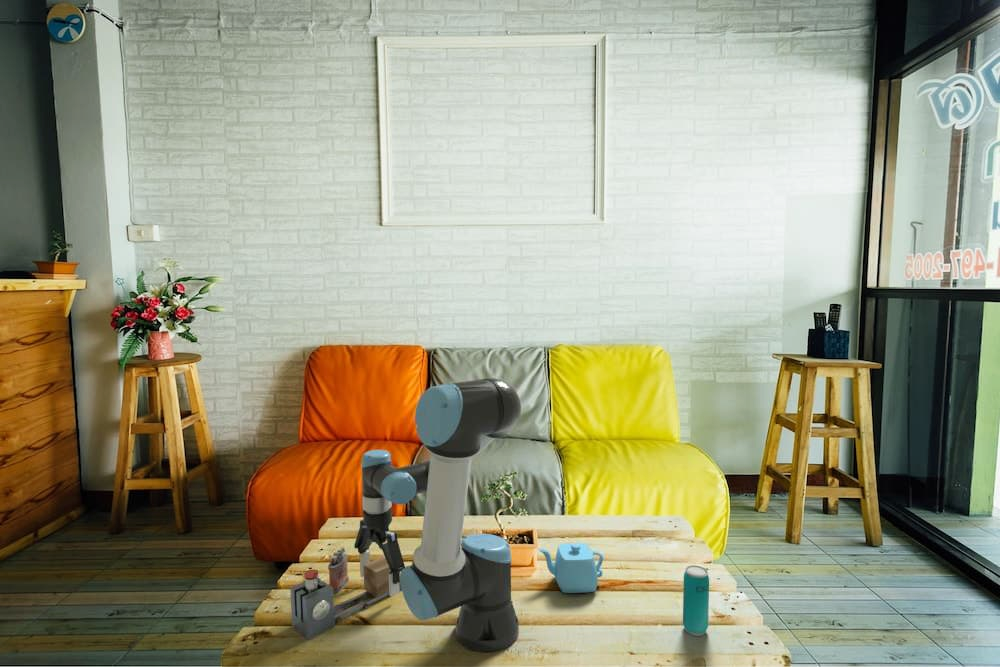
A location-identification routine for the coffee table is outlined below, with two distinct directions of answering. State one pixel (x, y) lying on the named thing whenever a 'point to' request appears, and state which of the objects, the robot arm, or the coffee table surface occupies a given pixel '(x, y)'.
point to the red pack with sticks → (338, 570)
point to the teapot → (575, 567)
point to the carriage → (376, 577)
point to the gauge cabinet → (312, 609)
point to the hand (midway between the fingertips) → (379, 584)
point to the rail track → (357, 607)
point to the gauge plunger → (311, 581)
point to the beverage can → (695, 600)
